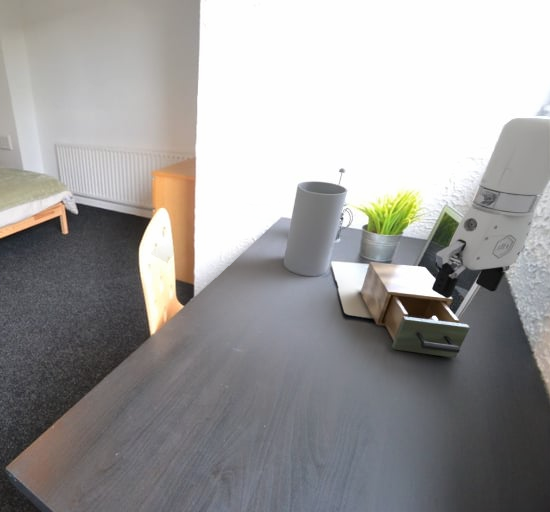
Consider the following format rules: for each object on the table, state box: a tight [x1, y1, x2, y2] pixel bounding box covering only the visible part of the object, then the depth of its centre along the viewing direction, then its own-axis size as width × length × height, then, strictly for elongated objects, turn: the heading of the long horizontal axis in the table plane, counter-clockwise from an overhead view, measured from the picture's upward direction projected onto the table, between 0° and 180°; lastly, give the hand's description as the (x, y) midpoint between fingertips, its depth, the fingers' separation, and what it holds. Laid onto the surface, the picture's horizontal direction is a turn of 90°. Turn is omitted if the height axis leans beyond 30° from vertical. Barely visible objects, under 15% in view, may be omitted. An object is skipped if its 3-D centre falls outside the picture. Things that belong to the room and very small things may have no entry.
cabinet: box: [360, 261, 454, 327], centre depth 89 cm, size 15×13×10 cm
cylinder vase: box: [283, 180, 348, 277], centre depth 106 cm, size 12×12×25 cm
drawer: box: [382, 295, 471, 359], centre depth 79 cm, size 18×11×8 cm, turn 166°
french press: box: [334, 167, 354, 244], centre depth 124 cm, size 10×12×25 cm
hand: (463, 290), depth 66 cm, fingers open, 9 cm apart
